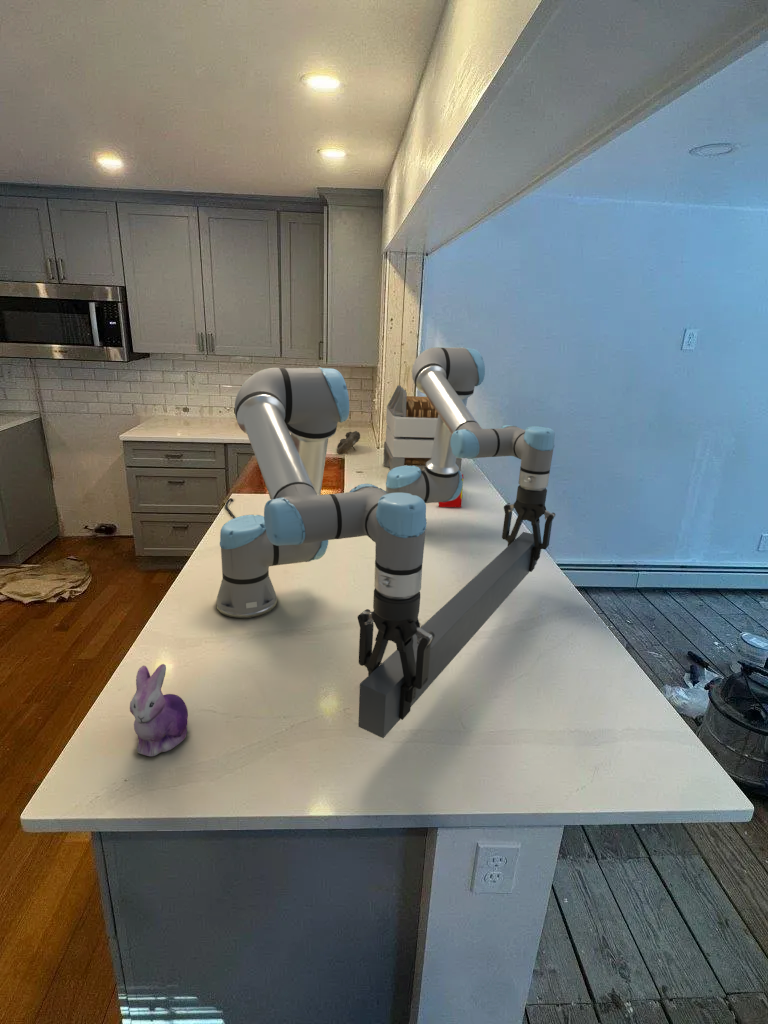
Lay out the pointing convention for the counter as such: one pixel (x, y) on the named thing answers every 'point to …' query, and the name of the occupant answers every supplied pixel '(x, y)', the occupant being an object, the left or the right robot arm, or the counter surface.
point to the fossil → (348, 442)
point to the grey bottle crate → (410, 430)
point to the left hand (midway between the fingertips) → (390, 708)
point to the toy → (453, 501)
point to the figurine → (157, 714)
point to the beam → (445, 634)
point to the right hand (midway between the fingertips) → (521, 566)
